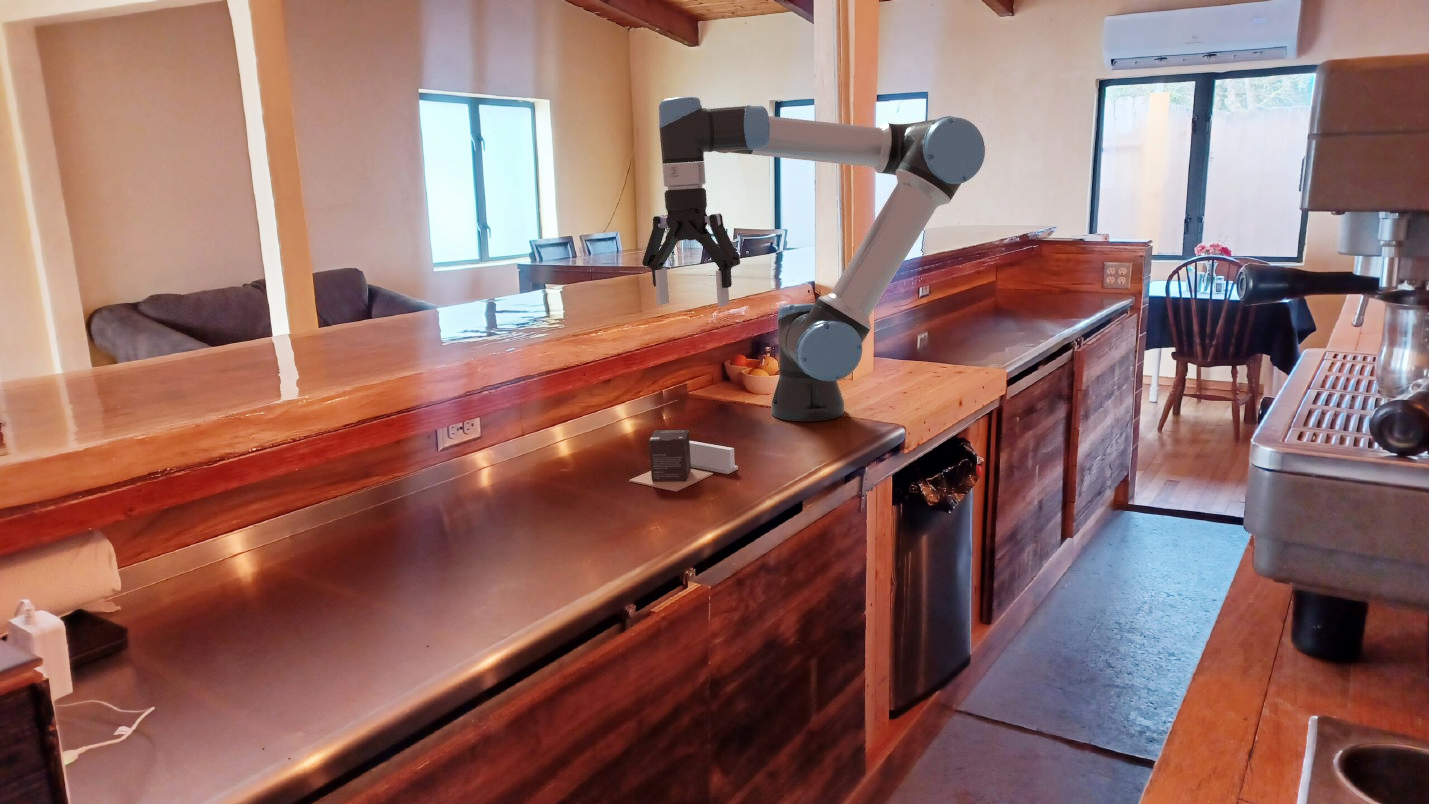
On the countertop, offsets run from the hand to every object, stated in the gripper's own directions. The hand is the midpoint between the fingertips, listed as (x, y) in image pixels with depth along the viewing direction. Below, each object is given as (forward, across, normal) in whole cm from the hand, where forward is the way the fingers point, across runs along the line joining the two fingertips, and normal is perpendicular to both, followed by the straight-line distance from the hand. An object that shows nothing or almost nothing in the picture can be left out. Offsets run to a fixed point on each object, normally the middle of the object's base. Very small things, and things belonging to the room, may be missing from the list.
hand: (692, 305), depth 175 cm
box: (+26, +9, -22) cm, 35 cm away
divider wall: (+26, +10, -14) cm, 31 cm away
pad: (+26, +9, -22) cm, 35 cm away
